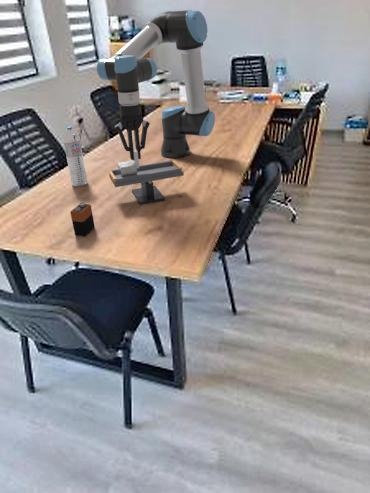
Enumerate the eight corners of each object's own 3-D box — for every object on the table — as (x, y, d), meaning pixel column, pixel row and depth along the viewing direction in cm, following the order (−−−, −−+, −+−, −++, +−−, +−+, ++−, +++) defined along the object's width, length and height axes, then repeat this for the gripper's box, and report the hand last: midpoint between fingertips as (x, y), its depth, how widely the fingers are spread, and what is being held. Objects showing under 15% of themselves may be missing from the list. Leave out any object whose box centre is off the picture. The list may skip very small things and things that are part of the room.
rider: (133, 172, 158) (132, 160, 156) (137, 177, 153) (136, 165, 151) (118, 175, 157) (117, 162, 154) (122, 180, 152) (120, 167, 149)
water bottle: (72, 188, 173) (60, 129, 160) (71, 182, 179) (60, 125, 166) (88, 186, 175) (78, 128, 162) (87, 180, 180) (77, 124, 168)
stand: (155, 188, 169) (153, 172, 166) (165, 200, 158) (163, 183, 154) (132, 192, 166) (130, 176, 163) (140, 205, 155) (138, 188, 151)
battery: (95, 227, 140) (90, 201, 135) (85, 237, 135) (80, 210, 130) (84, 226, 141) (79, 200, 136) (74, 235, 136) (68, 209, 131)
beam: (174, 168, 167) (173, 159, 165) (183, 178, 157) (183, 168, 155) (109, 179, 160) (108, 170, 157) (115, 190, 150) (114, 180, 148)
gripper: (113, 107, 138) (122, 173, 150) (150, 103, 141) (155, 167, 153) (109, 103, 144) (118, 167, 156) (144, 100, 147) (150, 162, 159)
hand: (136, 167), depth 155 cm, fingers closed
